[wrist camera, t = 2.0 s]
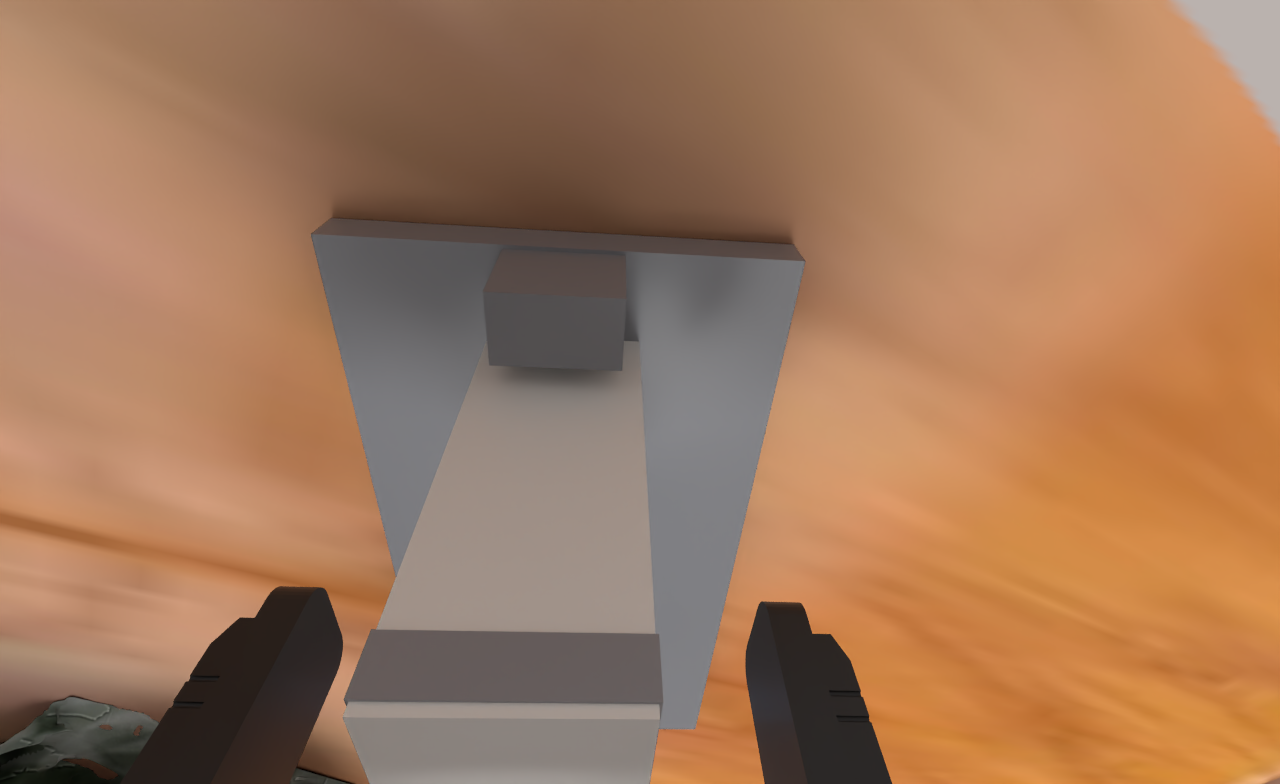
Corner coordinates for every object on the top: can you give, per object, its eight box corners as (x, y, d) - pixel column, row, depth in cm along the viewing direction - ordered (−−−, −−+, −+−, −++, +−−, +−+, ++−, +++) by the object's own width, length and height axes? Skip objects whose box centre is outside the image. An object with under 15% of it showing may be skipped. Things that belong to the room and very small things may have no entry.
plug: (486, 332, 16) (337, 715, 7) (641, 339, 16) (664, 717, 8) (497, 452, 18) (392, 846, 10) (631, 456, 18) (642, 844, 10)
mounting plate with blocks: (331, 218, 15) (241, 288, 11) (793, 244, 16) (844, 317, 12) (440, 702, 28) (413, 805, 24) (692, 704, 29) (702, 805, 25)
